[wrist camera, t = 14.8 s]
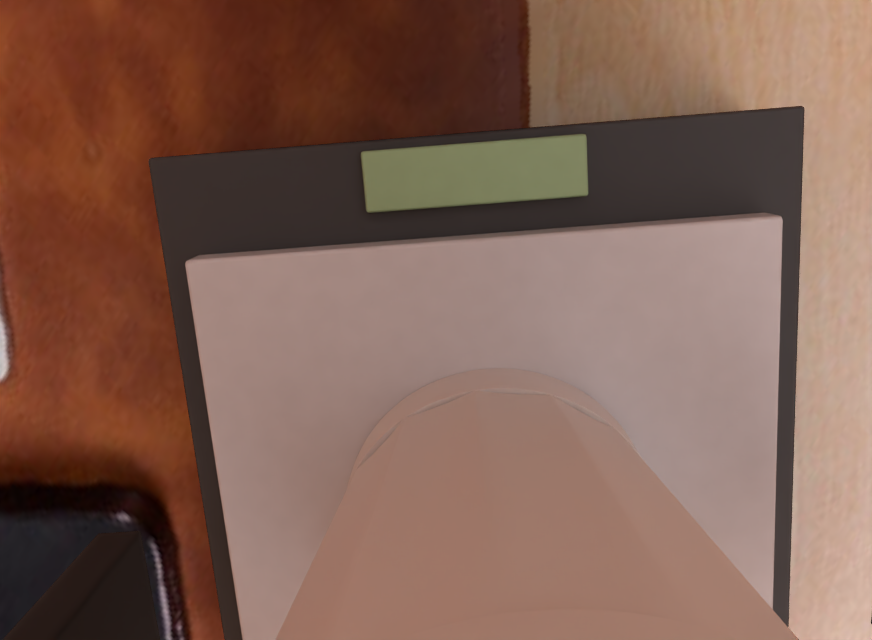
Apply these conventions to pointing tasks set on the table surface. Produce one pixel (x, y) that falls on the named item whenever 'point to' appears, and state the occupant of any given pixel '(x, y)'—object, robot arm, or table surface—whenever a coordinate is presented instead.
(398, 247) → the scale
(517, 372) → the cup
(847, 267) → the table surface
